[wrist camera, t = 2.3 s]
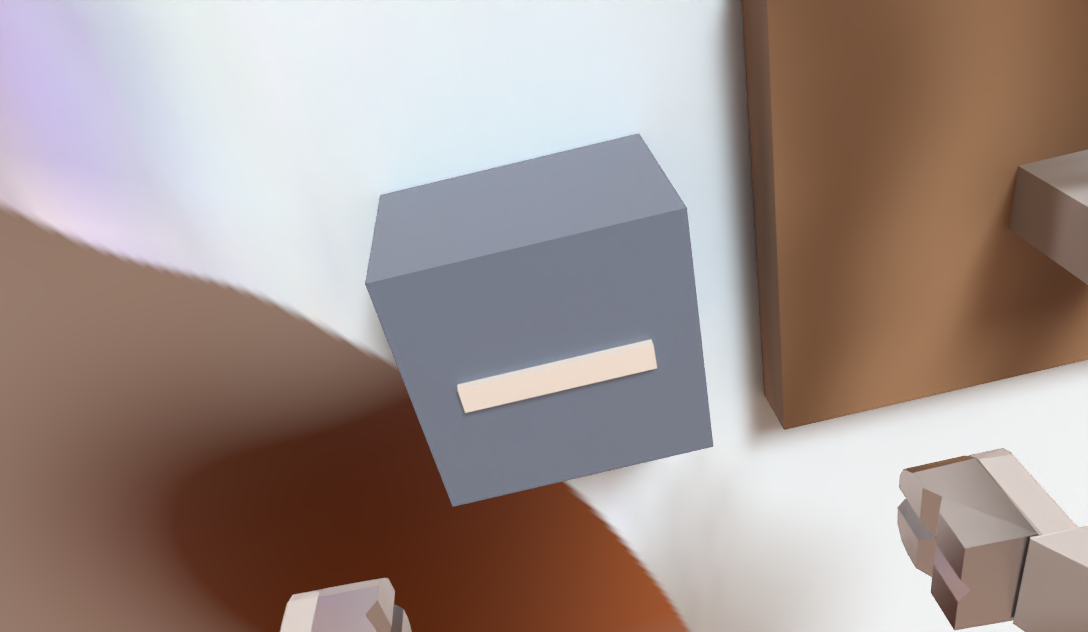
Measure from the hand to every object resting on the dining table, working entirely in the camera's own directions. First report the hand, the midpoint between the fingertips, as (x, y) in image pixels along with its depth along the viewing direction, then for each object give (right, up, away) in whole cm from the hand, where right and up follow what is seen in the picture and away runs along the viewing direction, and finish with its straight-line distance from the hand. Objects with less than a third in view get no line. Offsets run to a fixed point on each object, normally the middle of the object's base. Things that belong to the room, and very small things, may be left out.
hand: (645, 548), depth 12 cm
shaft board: (+10, +8, +7) cm, 14 cm away
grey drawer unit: (-2, +5, +7) cm, 8 cm away
